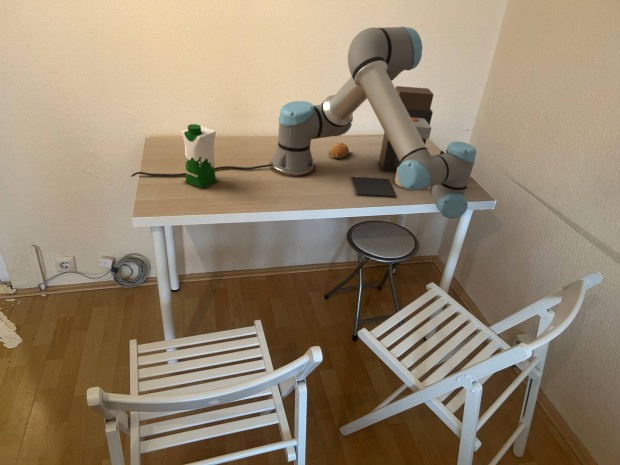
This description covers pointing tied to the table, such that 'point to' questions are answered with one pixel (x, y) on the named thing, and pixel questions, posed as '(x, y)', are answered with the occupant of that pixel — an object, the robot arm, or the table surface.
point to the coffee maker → (421, 115)
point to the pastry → (339, 150)
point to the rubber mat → (373, 187)
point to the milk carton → (199, 155)
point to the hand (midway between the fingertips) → (420, 153)
